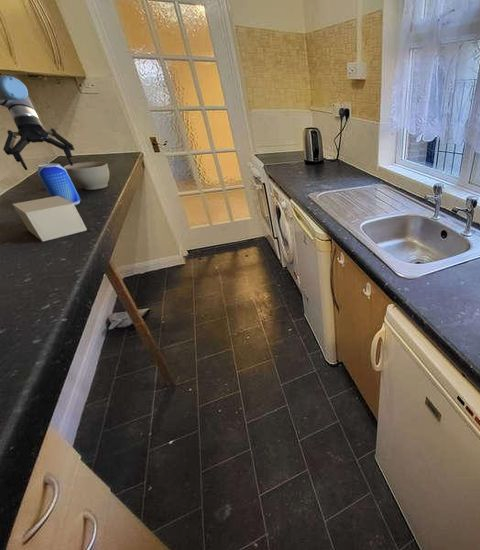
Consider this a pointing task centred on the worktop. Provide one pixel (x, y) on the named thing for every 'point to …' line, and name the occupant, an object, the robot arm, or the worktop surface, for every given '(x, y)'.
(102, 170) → the planter bowl
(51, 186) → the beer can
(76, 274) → the worktop surface
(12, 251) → the worktop surface
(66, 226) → the white slanted wedge
